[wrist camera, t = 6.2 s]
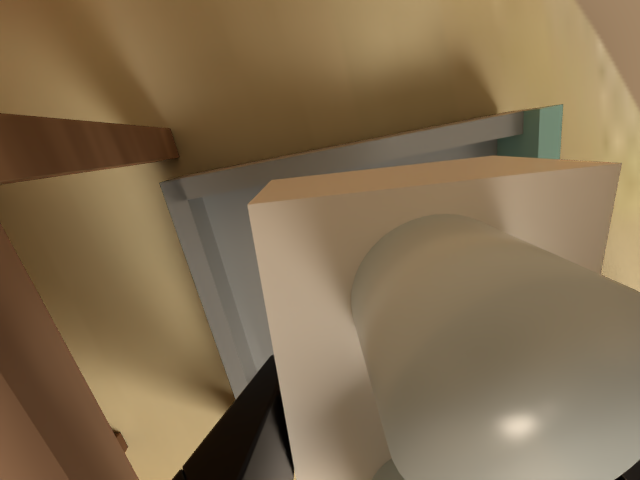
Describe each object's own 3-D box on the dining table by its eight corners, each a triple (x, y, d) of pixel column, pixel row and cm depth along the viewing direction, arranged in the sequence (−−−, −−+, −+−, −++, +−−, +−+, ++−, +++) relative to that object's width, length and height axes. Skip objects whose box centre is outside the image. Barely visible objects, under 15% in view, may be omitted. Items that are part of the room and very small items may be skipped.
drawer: (504, 112, 17) (563, 104, 13) (502, 350, 22) (545, 394, 18) (183, 175, 17) (148, 186, 13) (255, 398, 22) (245, 452, 18)
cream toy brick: (493, 155, 8) (925, 181, 2) (476, 415, 11) (663, 713, 5) (271, 180, 8) (190, 263, 2) (309, 435, 11) (313, 757, 5)
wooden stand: (170, 128, 16) (-177, 97, 5) (264, 420, 23) (224, 719, 11) (-49, 171, 16) (-958, 253, 5) (108, 450, 23) (-98, 781, 11)
